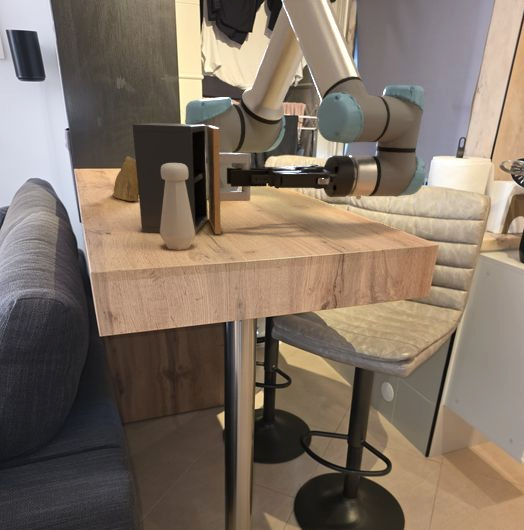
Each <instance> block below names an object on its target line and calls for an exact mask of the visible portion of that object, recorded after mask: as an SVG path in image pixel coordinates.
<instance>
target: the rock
mask: <svg viewBox="0 0 524 530" xmlns="http://www.w3.org/2000/svg"><path fill="white" fill-rule="evenodd" d="M111 196H112V197H114V198H115V199H119V200H123V201H127V202H138V201H139V192H138V181H137V170H136V160H135V158H134V157H131V156H129V155H127V156H126V157H125V159H124V162H123V163H122V166H121V167H120V171H118V173H117V174H116V177H115V181H114V186H113V193H112V195H111Z"/></svg>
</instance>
